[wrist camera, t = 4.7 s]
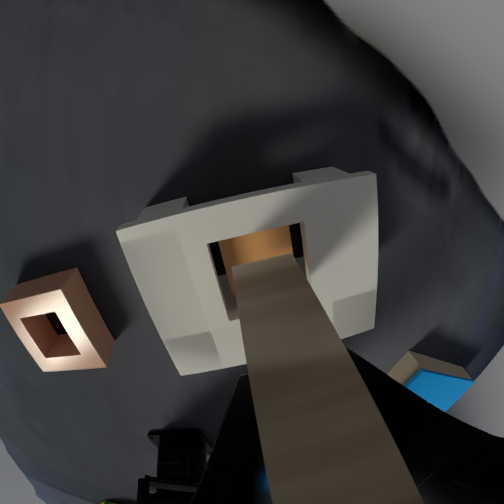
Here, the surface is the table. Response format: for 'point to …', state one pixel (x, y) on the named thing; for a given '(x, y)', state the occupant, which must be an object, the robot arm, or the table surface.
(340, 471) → the tan square peg
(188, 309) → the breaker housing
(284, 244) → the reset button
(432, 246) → the table surface
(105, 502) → the printed toy box
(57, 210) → the table surface
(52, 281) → the holder
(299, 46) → the table surface
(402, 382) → the book
